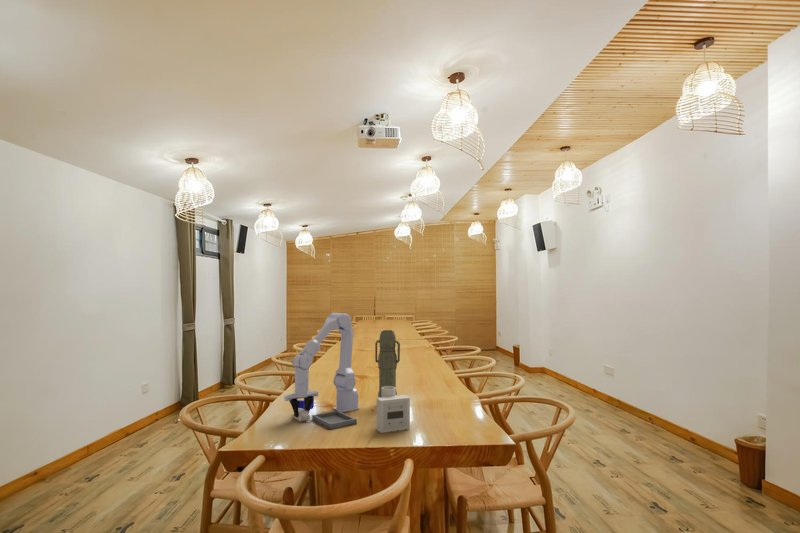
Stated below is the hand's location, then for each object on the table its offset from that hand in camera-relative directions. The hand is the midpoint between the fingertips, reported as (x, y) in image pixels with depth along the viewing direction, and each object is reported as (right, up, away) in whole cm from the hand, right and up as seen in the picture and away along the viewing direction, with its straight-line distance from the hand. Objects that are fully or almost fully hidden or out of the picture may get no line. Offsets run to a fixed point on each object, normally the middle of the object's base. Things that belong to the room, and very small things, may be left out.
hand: (301, 415), depth 187 cm
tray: (+14, -1, -4) cm, 15 cm away
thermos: (+36, -3, +22) cm, 42 cm away
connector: (0, -1, 0) cm, 1 cm away
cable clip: (-2, -3, +13) cm, 13 cm away
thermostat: (+37, -1, -10) cm, 38 cm away
